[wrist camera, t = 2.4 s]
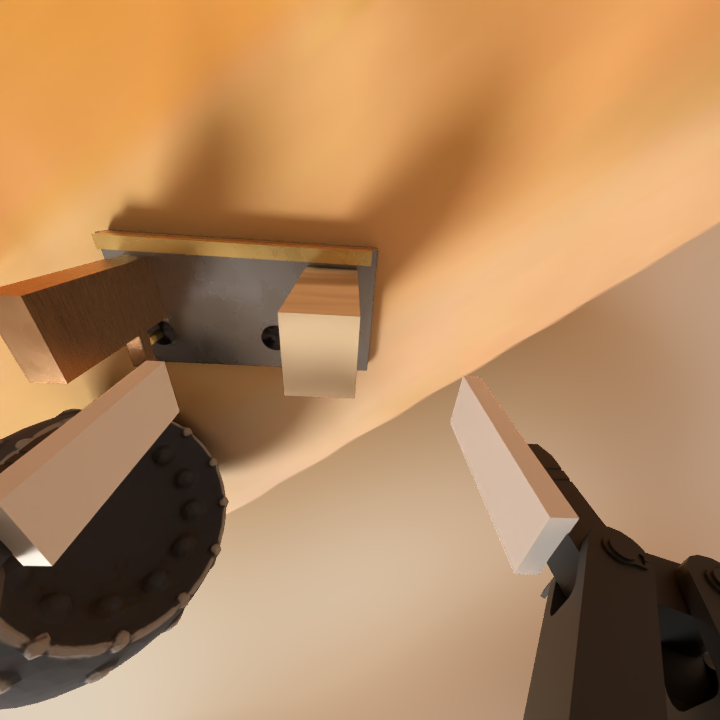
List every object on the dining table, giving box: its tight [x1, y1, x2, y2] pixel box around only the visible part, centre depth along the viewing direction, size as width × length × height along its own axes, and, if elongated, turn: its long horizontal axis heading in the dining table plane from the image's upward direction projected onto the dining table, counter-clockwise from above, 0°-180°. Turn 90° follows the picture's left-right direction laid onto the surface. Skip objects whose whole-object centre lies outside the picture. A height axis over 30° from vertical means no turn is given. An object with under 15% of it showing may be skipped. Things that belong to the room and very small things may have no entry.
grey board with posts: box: [0, 230, 378, 384], centre depth 21 cm, size 11×21×11 cm, turn 86°
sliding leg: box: [278, 267, 360, 398], centre depth 20 cm, size 8×4×10 cm, turn 176°
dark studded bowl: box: [0, 409, 228, 709], centre depth 25 cm, size 11×20×20 cm, turn 34°
